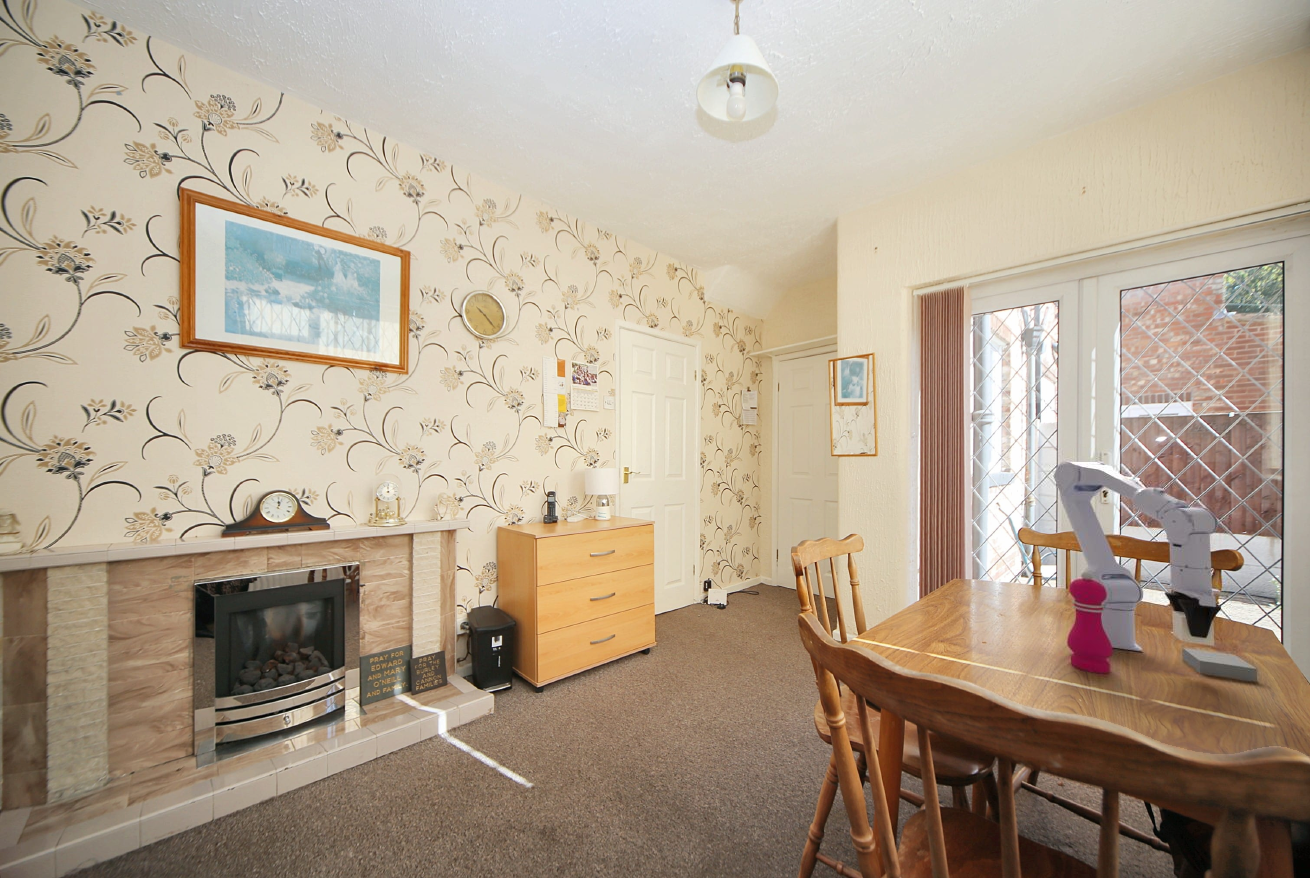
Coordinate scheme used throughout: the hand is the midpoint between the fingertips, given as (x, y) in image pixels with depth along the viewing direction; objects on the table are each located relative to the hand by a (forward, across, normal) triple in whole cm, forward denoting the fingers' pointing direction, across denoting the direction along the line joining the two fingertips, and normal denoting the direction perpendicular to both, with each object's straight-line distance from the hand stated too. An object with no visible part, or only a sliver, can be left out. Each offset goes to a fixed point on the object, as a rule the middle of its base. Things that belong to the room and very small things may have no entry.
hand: (1192, 632), depth 101 cm
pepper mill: (+9, -6, +18) cm, 21 cm away
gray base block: (+9, +5, -5) cm, 12 cm away
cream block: (+1, 0, 0) cm, 1 cm away
